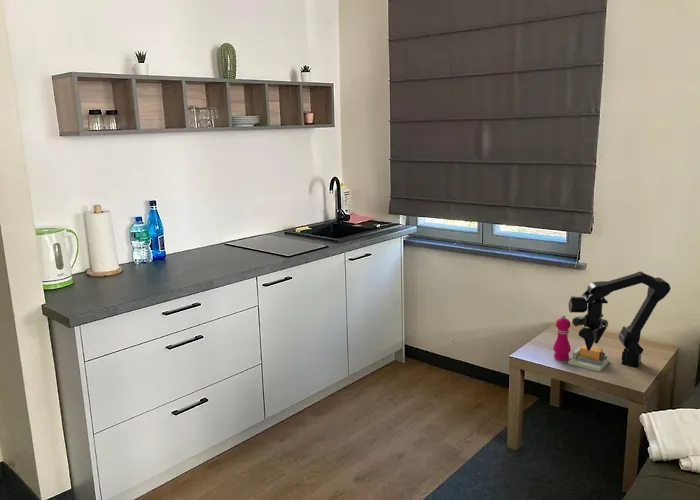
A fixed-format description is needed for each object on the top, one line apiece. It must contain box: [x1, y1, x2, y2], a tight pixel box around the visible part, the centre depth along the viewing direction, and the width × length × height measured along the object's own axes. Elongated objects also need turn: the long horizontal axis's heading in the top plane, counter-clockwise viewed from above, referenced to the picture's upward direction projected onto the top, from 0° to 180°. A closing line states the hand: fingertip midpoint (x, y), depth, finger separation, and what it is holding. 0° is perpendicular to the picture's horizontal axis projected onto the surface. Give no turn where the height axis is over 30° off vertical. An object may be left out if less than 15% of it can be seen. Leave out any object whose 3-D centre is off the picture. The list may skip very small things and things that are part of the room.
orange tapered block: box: [580, 344, 606, 361], centre depth 251 cm, size 9×4×5 cm, turn 49°
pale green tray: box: [567, 346, 610, 372], centre depth 251 cm, size 13×12×4 cm
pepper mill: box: [553, 314, 572, 362], centre depth 256 cm, size 7×7×20 cm
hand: (592, 346), depth 250 cm, fingers open, 9 cm apart
